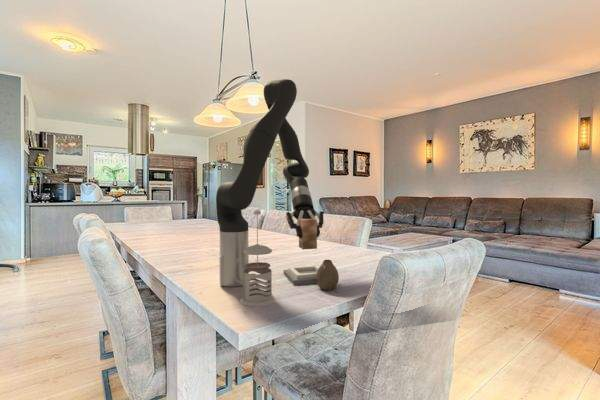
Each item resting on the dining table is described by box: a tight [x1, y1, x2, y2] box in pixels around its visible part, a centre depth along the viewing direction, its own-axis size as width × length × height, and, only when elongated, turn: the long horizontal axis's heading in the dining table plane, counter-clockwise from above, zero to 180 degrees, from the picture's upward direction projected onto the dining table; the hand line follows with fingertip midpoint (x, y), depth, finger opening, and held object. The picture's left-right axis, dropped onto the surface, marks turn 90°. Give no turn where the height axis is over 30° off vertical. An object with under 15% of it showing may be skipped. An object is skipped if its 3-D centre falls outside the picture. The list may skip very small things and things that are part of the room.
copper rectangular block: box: [298, 218, 318, 250], centre depth 108 cm, size 5×5×10 cm
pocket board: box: [283, 265, 320, 286], centre depth 108 cm, size 14×14×3 cm
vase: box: [316, 259, 340, 291], centre depth 96 cm, size 7×7×9 cm
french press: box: [233, 209, 276, 307], centre depth 85 cm, size 10×12×25 cm
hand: (309, 236), depth 106 cm, fingers closed on copper rectangular block, 5 cm apart
